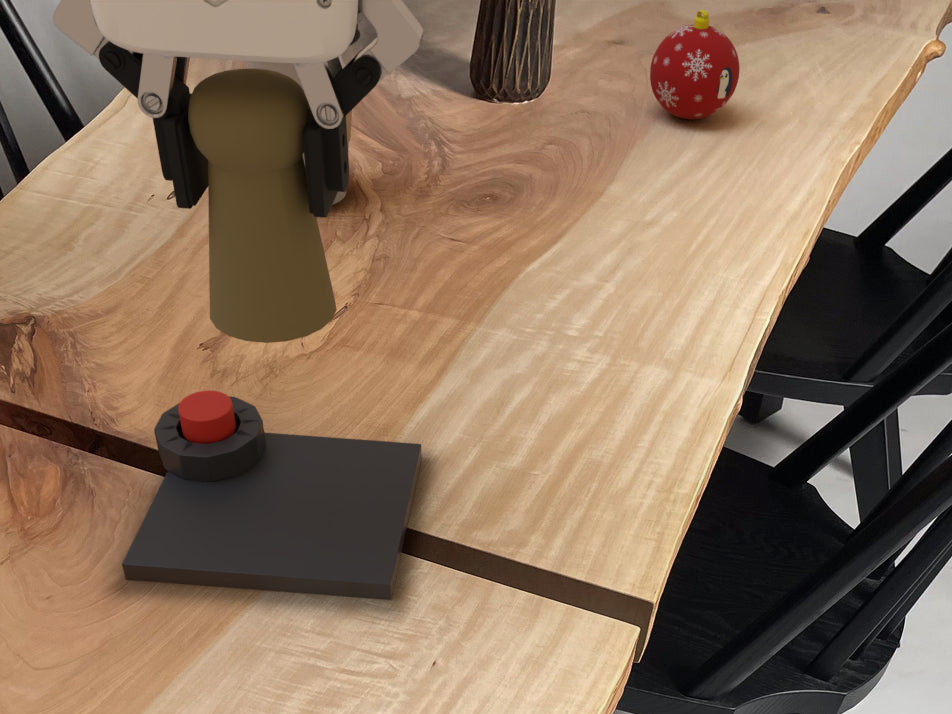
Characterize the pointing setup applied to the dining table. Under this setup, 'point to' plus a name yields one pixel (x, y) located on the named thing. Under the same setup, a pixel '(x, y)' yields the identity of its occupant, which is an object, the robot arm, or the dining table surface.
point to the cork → (260, 207)
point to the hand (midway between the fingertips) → (259, 195)
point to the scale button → (207, 417)
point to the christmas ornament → (694, 70)
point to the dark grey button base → (276, 511)
